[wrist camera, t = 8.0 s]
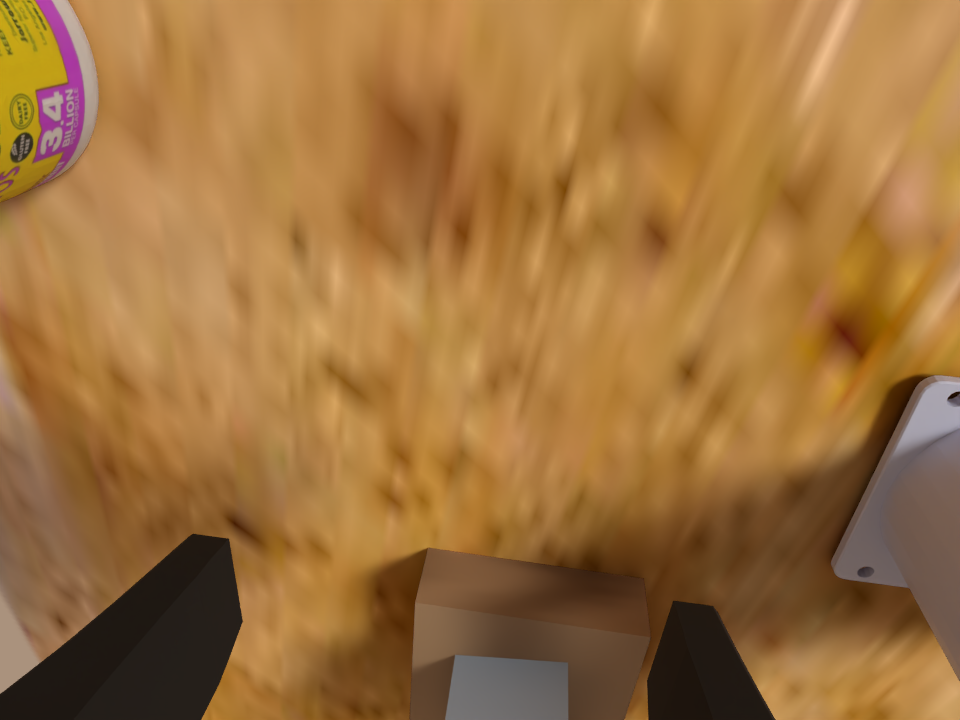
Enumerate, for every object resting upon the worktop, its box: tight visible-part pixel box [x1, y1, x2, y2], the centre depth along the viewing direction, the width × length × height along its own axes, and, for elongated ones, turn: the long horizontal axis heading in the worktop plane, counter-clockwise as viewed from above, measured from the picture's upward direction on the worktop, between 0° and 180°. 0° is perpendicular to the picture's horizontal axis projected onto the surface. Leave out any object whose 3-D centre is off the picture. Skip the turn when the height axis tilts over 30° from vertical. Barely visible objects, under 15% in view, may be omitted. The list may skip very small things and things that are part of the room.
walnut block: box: [410, 548, 651, 720], centre depth 26 cm, size 8×8×3 cm
